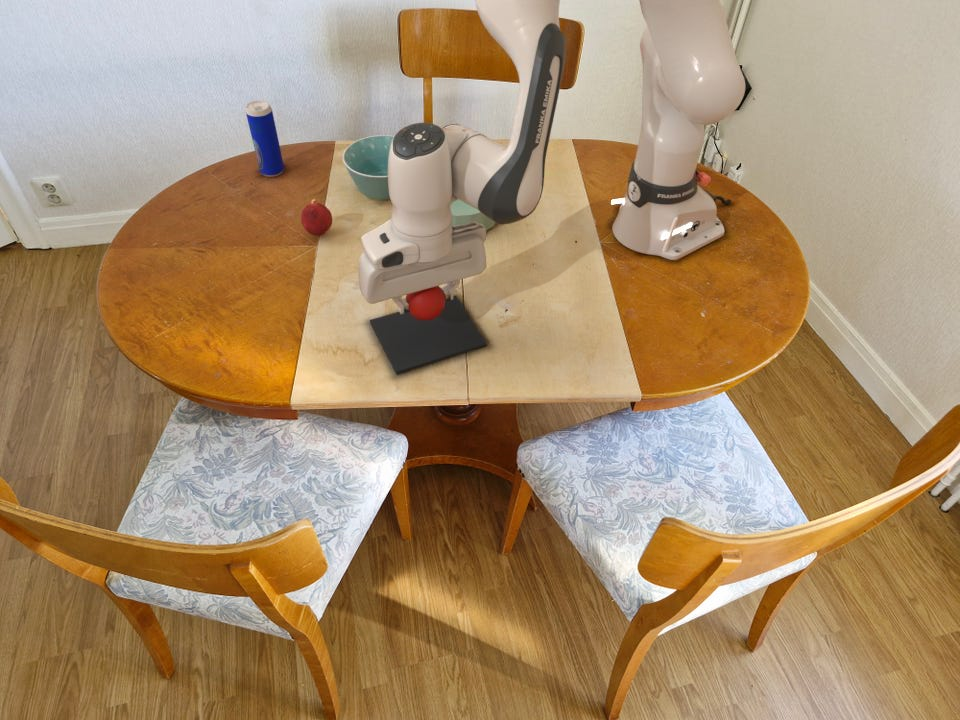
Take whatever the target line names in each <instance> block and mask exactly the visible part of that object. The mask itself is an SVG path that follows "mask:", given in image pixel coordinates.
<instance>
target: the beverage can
mask: <svg viewBox="0 0 960 720" xmlns="http://www.w3.org/2000/svg"><path fill="white" fill-rule="evenodd" d="M245 115H246V119H247V123H248V127H249V132H250V137H251V140H252V144H253V149H254V152H255V157H256V161H257V165H258V169H259V172H260V173H261V174H262V175H263V176H265V177H268V178H274V177H278V176H280V175H281V174H283V172H284V170H285V164H284V161H283V155H282V151H281V146H280V141H279V137H278V136H279V135H278V132H277V127H276V122H275V117H274V112H273V108H272V106H271V104H270V103H269V102H268V101H266V100H261V99H260V100H253V101H250V102H249V103H247V104H246V105H245Z"/></svg>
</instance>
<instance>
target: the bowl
mask: <svg viewBox="0 0 960 720" xmlns="http://www.w3.org/2000/svg"><path fill="white" fill-rule="evenodd" d="M394 136H395V135H390V134H376V135H370V136H365V137H362V138H360V139H357V140H355V141H354V142H352V143H350V144H349V145H348V146H347V147H346V148H345V149H344V151H343V153H342V162H343V164H344V166H345V168H346V170H347V172H348V174H349V176H350V178H351V180H352V181H353V183H354V185H355V186H356V189H357V190H358V192H360V193H361V195H363V196H364V197H367V198H370V199H371V200H375V201H379V202H384V201H385V202H387V201H391V199H390V196H389V187H388V157H389V150H390V146H391V143H392V140H393V138H394Z"/></svg>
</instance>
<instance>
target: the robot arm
mask: <svg viewBox="0 0 960 720" xmlns="http://www.w3.org/2000/svg"><path fill="white" fill-rule="evenodd" d="M560 2H561V0H474V3H475V7H476V11H477V14H478V17H479V19H480V21H481V23H482V25H483V27H484V28H485V30H486V31H487V32H488V34H489V35H490V37H492V38H493V40H494V41H495V42H496V43H497V44H498V45H499V46H500V47H501V48H502V49H503V50H504V51H505V53H506V54H507V55H508V57H509V58H510V60H511V61H512V63H513V66H514V67H515V69H516V71H517V72H516V73H517V75H518V80H519V81H518V82H519V88H518V90H519V91H518V95H517V101H516V105H515V111H514V117H513V120H512V121H513V122H512V127H511V132H510V137H509V142H508V145H507V146H506V145H504V144H502V143H500V142H498V141H495V140H494V139H492V138H489V137H487V136H486V135H484V134H483V133H480V132H478V131H476V130H474V129H471V128H469V127H467V126H465V125H461V124H459V123H458V124H457V123H451V124H448V125H445V126H443V127H441V126H439V125H437V124H435V123H431V122H416V123H412V124H409V125H406V126H404V127H402V128H401V129H400V130H398V131H397V132H396V133H395V135H393V136H394V138H393V140H392V143H391V146H390V150H389V157H388V187H389V196H390V199H391V200H390V202H391V204H392V210H391V215H390V218H389V219H387V220H386V221H385V222H383V223H382V224H380V225H379V226H377V227H375V228H373V229H372V230H369V231H368V232H366V233H364V234H363V235H362V236H361V238H360V243H361V248H362V250H363V252H362V254H361V255H360V257H359V260H358V268H357V269H358V271H357V272H358V273H357V275H358V276H357V277H358V287H359V290H360V291H359V292H360V293H361V295H362V297H363V299H364V300H365V301H366V302H367V303H368V304H371V305H374V304H378V303H381V302H385V301H389V300H391V299H392V300H393V302H394V304H396V307H397V309H398V312H400V314H404V313H407V312H410V310H409V304H408V302H407V300H406V297H404V298H403V296H406V295H407V294H410V293H414V292H417V291H421V290H425V289H428V288H432V287H435V286H439V287H440V286H442V285H445V286H444V287H440V288H441V289H442V291H443V293H444V295H445V301H449V300H453V296H454V293H455V291H457V289H458V287H459V286H460V284H461V280H464V279H467V278H471V277H475V276H478V275H481V274H483V273H484V272H485V270H486V269H487V251H486V247H485V241H486V239H487V230H486V228H485V226H484V225H483V224H481V223H477V222H470V223H468V224H464V225H458V226H454V227H452V212H451V209H450V206H451V204H452V203H453V202H454V201H456V200H458V199H459V200H461V201H463V202H464V203H466V204H468V205H470V206H472V207H474V208H476V209H478V210H479V211H480V212H481V213H483V214H484V215H485V216H487V217H488V218H490V219H491V220H493V221H494V222H496V224H497V225H501V226H504V225H510V224H513V223H517V222H519V221H522V220H523V219H525V218H527V217H529V216H530V215H532V213H533V212H534V211H535V210H536V208H537V206H538V205H539V203H540V201H541V198H542V194H543V190H544V183H545V169H546V159H547V158H546V157H547V152H548V148H549V147H548V146H549V143H550V139H551V133H552V129H553V124H554V123H553V122H554V119H555V114H556V109H557V104H558V100H559V95H560V89H561V84H562V79H563V74H564V68H565V61H566V54H567V53H566V52H567V41H566V36H565V34H564V32H563V30H561V28H560ZM638 2H639V6H640V10H641V14H642V16H643V19H644V21H645V23H646V27H645V29H644V31H643V32H642V34H641V37H640V43H639V50H640V51H639V52H640V56H641V65H642V85H641V86H642V87H641V88H642V89H641V90H642V92H641V126H640V133H639V138H638V142H637V149H636V153H635V158H634V161H632V164H631V167H630V170H629V175H628V179H627V187H626V188H627V190H626V191H625V195H624V197H622V198H615V199H612V200H611V202H610V204H611V205H616V204H617V205H618V204H620V206H619V209H618V214H617V215H616V217H615V219H614V221H613V222H612V226H611V227H612V228H611V230H612V233H613V236H614V238H615V239H616V240H617V241H618V242H619V243H620V244H621V245H623V246H624V247H626V248H628V249H629V250H631V251H633V252H637V253H640V254H645V255H652V256H657V257H661V258H663V259H666V260H669V261H678V260H680V259H682V258H684V257H686V256H687V255H689V254H692V253H693V252H695V251H697V250H699V249H702V247H704V246H707V245H708V244H711V243H713V242H714V241H716V240H718V239H721V238H722V237H724V236H725V232H726V231H725V227H724V224H723V223H722V221H721V220H720V219H719V217H718V216H717V214H718V213H717V212H718V209H717V207H718V206H717V204H716V202H717V201H720V202H721V204H723V205H728V204H730V203H732V200H731V199H730V198H728V199H727V200H725V198H724V197H723V196H722V195H721V196H720V195H714V194H712V193H710V192H709V191H708V190H706V189H705V188H703V187H706V186H708V185H709V183H711V180H712V177H711V175H709V174H707V173H706V172H705V171H701V172H700V171H698V170H699V169H698V168H697V166H698V163H699V159H700V156H701V152H702V148H703V145H704V141H705V126H709V125H714V124H718V123H720V122H722V121H724V120H726V119H727V118H728V117H730V116H731V115H732V114H733V113H734V112H735V111H736V110H737V108H738V107H739V106H740V105H741V102H742V100H743V98H744V96H745V94H746V93H745V92H746V81H745V80H746V79H745V76H744V75H743V72H742V69H741V67H740V64H739V61H738V59H737V56H736V52H735V49H734V45H733V41H732V36H731V33H730V30H729V26H728V23H727V19H726V16H725V13H724V9H723V7H722V3H721V0H639V1H638ZM698 182H699V183H700V185H701V186H703V187H701V186H700V185H699V184H698Z"/></svg>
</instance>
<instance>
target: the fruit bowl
mask: <svg viewBox="0 0 960 720" xmlns="http://www.w3.org/2000/svg"><path fill="white" fill-rule="evenodd" d="M450 209H451V212H452V227H454V226H458V225H464V224H468V223H470V222H477V223H481V224H483V225H484V226H485V228H486V231H487V230H490V229H492V228H493V227H494V226H495V225H496V224H497V223H496V222H494V221H493V220H491V219H490V218H488V217H487V216H485V215H484V214H483V213H481V212H480V211H479V210H478V209H476V208H474V207H472V206H470V205H468V204H466V203H464V202H463V201H461V200H459V199H458V200H456V201H454V202H453V203H452V204H451V206H450Z"/></svg>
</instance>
